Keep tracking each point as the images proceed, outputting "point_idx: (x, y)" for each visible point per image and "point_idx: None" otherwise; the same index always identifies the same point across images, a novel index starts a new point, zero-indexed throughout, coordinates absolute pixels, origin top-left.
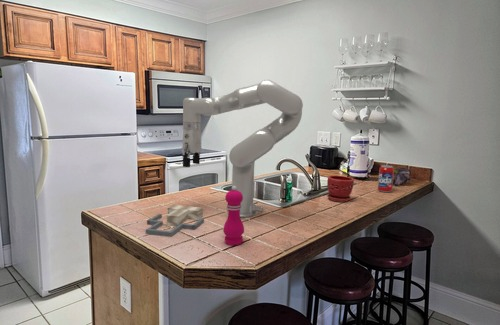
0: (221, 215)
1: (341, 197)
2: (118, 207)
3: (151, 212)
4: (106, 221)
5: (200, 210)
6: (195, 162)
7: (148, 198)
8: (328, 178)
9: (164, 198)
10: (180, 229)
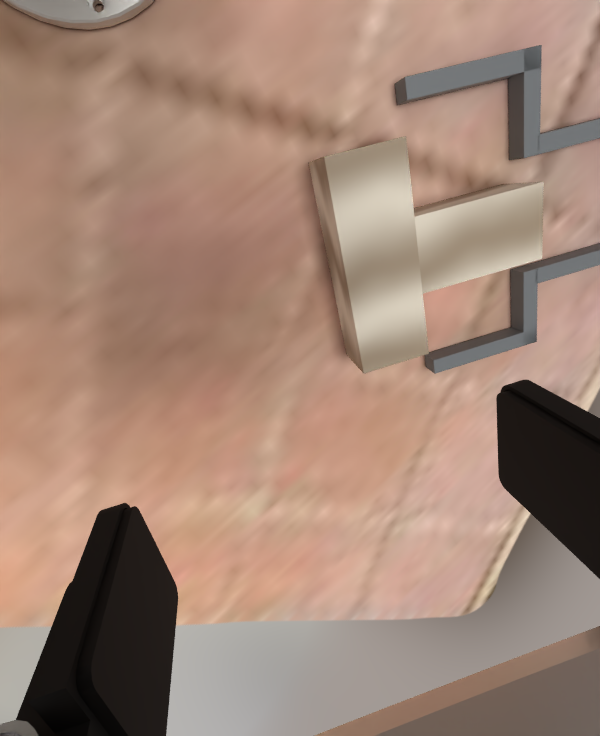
0: (217, 44)
1: None
2: (388, 589)
3: (382, 447)
4: None
5: (362, 147)
6: (157, 569)
7: (213, 622)
8: None
9: None
10: (549, 131)
